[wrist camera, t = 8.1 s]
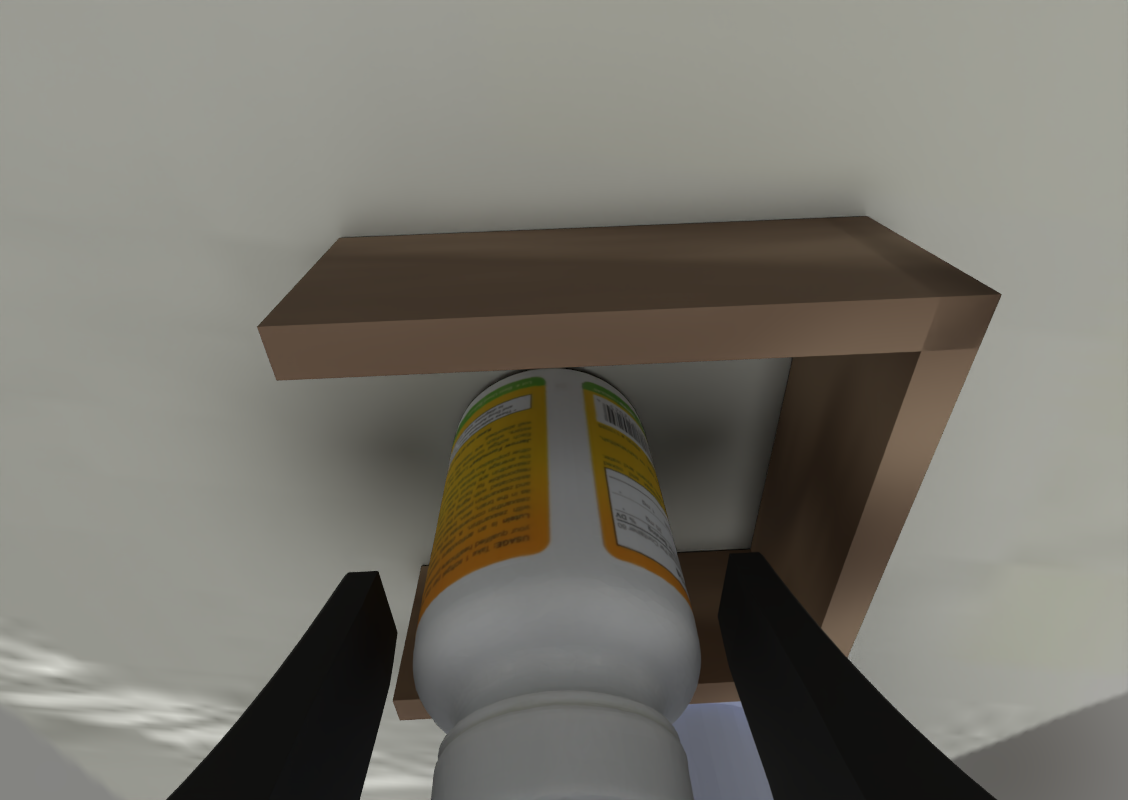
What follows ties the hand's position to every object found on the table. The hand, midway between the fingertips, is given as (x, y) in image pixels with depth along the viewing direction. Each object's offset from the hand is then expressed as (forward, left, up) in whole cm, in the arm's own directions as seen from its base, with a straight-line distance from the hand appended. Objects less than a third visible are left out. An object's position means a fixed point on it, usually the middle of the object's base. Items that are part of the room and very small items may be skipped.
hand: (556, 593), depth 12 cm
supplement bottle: (0, 0, -5) cm, 5 cm away
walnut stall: (0, -2, -5) cm, 6 cm away
